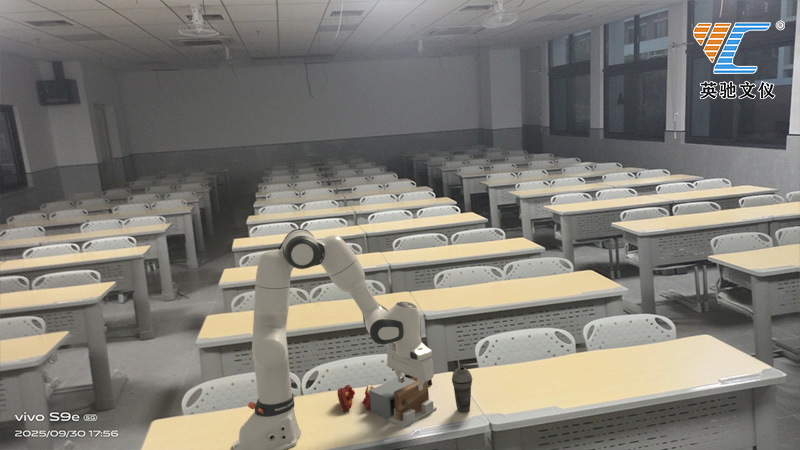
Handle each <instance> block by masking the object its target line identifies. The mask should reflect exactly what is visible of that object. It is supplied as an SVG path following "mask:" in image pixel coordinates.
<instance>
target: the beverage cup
mask: <svg viewBox="0 0 800 450" xmlns="http://www.w3.org/2000/svg"><path fill="white" fill-rule="evenodd" d="M456 360H457V366H458V368H457V369H455V370H454V371H453V373H452V376H451V383H452V386H453V391H454V398H455V399H454V400H455V405H456V411H457V412H458V413H461V414H466V413H469V412H470V411H471V397H472V396H471V395H472V384H473V377H472V373H471V372H470V370H468V369H467V368H465V367H461V364H460V359H459V356H458V355H457V356H456Z"/></svg>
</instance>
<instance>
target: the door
mask: <svg viewBox="0 0 800 450" xmlns="http://www.w3.org/2000/svg"><path fill="white" fill-rule="evenodd" d="M417 384H419V381H416V382H414V383H412V384H410V385H407V386H405V387H403V388H401V389H399V390H397V391H395V392H394V399H395V413H396V419H397V420H399V421H402V420H403V412H405V411H407V410H409V409H413V410H415V414H416V413H418V412H420V411H421V410H422V409H421V403H423V402H425V401H427V400H430V397H429V396H430V395H429V385H428V381H426V382H424V384H423V389H422V390H417V387H416V385H417Z"/></svg>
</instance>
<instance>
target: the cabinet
mask: <svg viewBox="0 0 800 450" xmlns="http://www.w3.org/2000/svg"><path fill="white" fill-rule="evenodd" d="M402 376H403V375H402ZM403 377H404V382H402V383H400V382H398V377H396V378H394V379H391V380H389V381H387V382H385V383H383V384H381V385H378V386H376V387H374V388H373V389H371V390H369V392H370V405H371V410H370V412H372V413H374V414H376V415H378V416H381V417H382V418H385V419H387V420H389V421H391V422H393V423H395V424H397V425H399V426H401V427H406V426H408V425H410V424H412V423H414V422H416V421H418V420H419V419H422V418H423V417H426V416H428V415H429V414H431V413H433V412H435V411H437V407H436V406H434V401H433V400H431V399H429V400H427V401H425V402H423V403H421V409H422V410H421V411H420V412H418V413H416V414H415V410H413V409H409V410H407V411H405V412H403V420H402V421H399V420H397V419H396V413H395V399H394V392H395V391H397V390H399V389H401V388H403V387H405V386H407V385H410V384H412V383H414V382H416V381H414V379H413V380H412V379H409V378H407V377H405V376H403Z"/></svg>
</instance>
